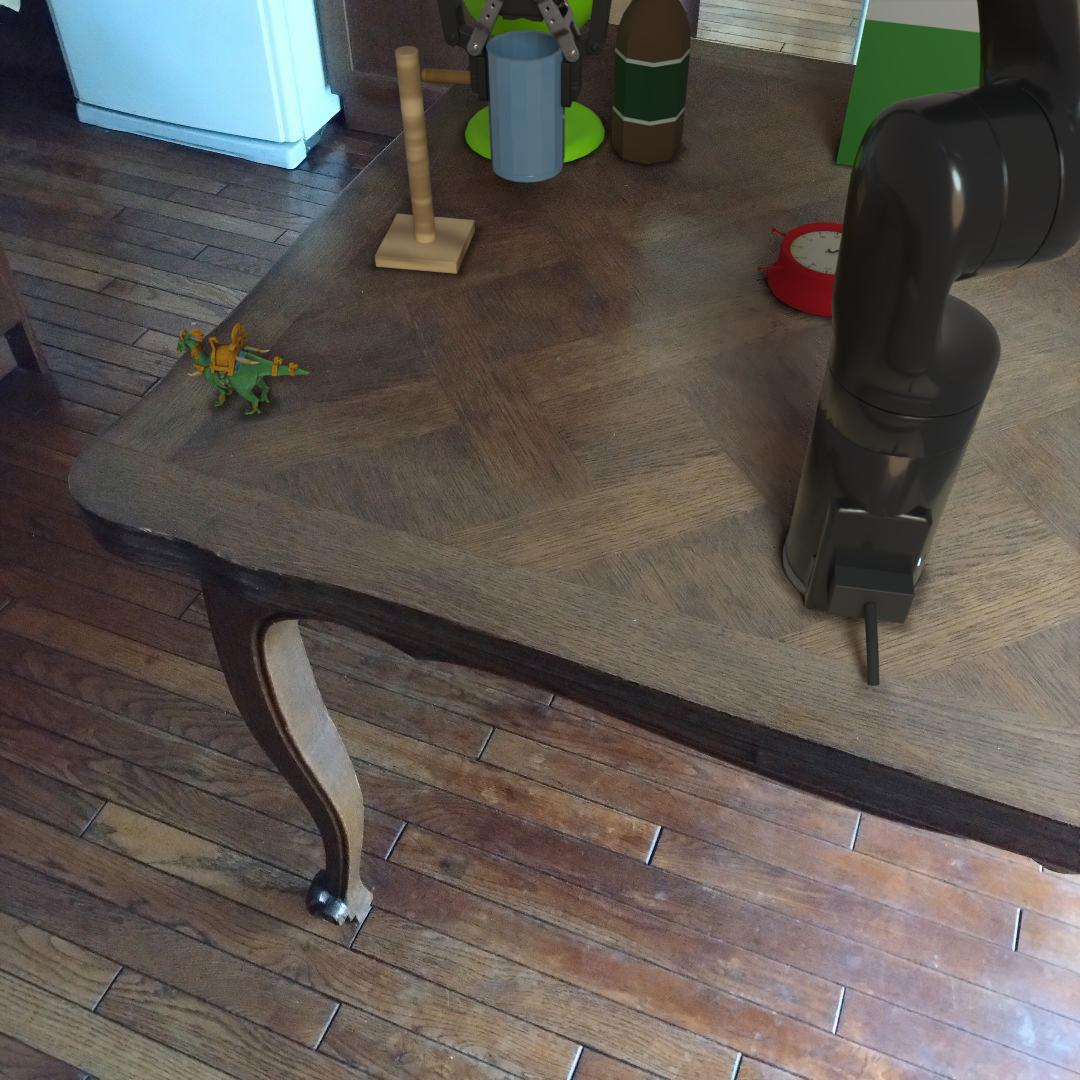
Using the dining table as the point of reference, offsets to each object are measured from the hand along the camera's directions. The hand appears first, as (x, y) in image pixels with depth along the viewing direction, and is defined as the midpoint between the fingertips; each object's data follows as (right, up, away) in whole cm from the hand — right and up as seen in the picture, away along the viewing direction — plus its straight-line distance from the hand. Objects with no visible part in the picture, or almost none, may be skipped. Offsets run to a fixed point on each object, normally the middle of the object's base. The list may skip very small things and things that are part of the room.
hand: (526, 99), depth 87 cm
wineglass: (0, +10, +34) cm, 36 cm away
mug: (0, -2, +5) cm, 6 cm away
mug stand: (-6, -8, +17) cm, 19 cm away
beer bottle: (+13, +7, +31) cm, 34 cm away
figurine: (-23, -25, +1) cm, 34 cm away
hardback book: (+43, +5, +28) cm, 52 cm away
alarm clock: (+29, -13, +11) cm, 34 cm away
